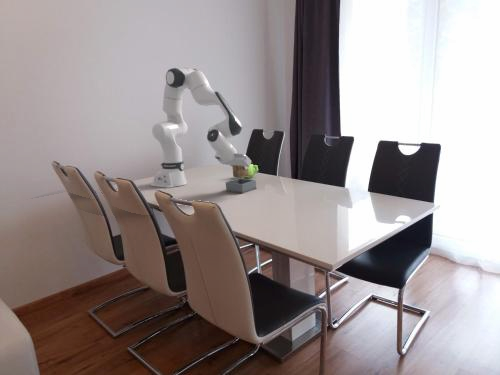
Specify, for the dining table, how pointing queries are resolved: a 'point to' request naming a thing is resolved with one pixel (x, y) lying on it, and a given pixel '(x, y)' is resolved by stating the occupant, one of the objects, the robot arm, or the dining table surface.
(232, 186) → the charcoal crate
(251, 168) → the teapot
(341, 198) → the dining table surface
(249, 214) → the dining table surface
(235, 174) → the walnut crate
